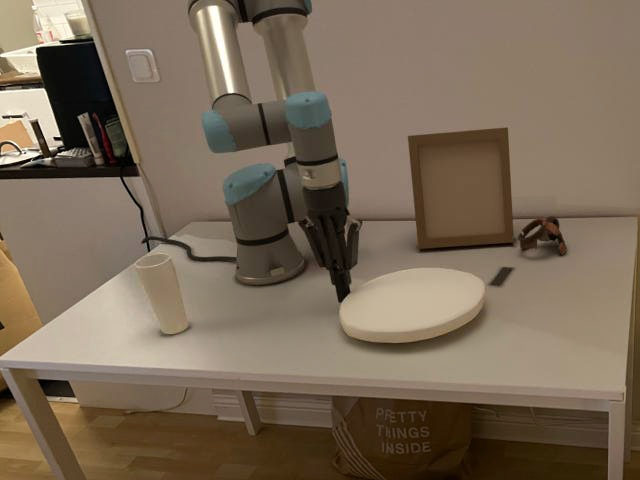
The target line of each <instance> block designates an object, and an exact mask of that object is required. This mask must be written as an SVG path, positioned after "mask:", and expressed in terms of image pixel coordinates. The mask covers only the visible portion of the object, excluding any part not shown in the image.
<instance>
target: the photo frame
mask: <svg viewBox="0 0 640 480" xmlns="http://www.w3.org/2000/svg"><path fill="white" fill-rule="evenodd" d="M509 138H510V137H509V127H508V126H507V127H495V128H484V129H483V128H482V129H472V130H471V129H470V130H460V131H447V132H436V133H435V132H434V133H424V134H412V135H411V134H410V135H407V143H408V153H409V164H410V176H411V185H412V186H411V187H412V193H413V194H412V196H413V205H414V216H415V226H416V238H417V247H418V248H417V249H418V250H420V249H421V250H422V249H423V250H424V249H434V248H437V249H438V248H449V247H450V248H451V247H465V246H479V245H493V244H495V245H496V244H507V243H515V235H514V217H513V215H514V214H513V197H512V178H511V160H510V159H511V158H510V157H511V156H510V139H509Z"/></svg>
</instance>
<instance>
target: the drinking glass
mask: <svg viewBox="0 0 640 480" xmlns="http://www.w3.org/2000/svg"><path fill="white" fill-rule="evenodd" d="M134 268H135V272H136V275H137V278H138V280H139V283H140V286H141V288H142V290H143V292H144V295H145V296H146V299H147V300H148V301H147V302H148V303H149V306H150V307H151V309H152V312H153V314H154V316H155V318H156V321H157V323H158V326H159V329H160V330H161V332H162V333H163V334H165V335H177V334H179V333H182V332H184V331H185V330H186V329H188V327H189V320H188V317H187V312H186V309H185V304H184V301H183V296H182V291H181V287H180V282H179V279H178V274H177V271H176V268H175V265H174V262H173V260H172V256H171V255H170V254H168V253H163V252H159V253H152V254H148V255H145V256H142V257H140V258H139V259H137V260H136V261H135V262H134Z"/></svg>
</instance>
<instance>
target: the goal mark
mask: <svg viewBox="0 0 640 480" xmlns="http://www.w3.org/2000/svg"><path fill="white" fill-rule="evenodd" d="M512 270H513V267H507V266H503V267H502V268H501V269H500V270H499V272H498V273H497V275H496V276H495V277H494V279H492V280H491V282H490V285H491V286H501V285H502V284H503V282H504V281H505V280H506V278H507V277H508V276H509V274H510V273H511V272H512Z"/></svg>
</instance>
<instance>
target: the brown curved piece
mask: <svg viewBox="0 0 640 480" xmlns="http://www.w3.org/2000/svg"><path fill="white" fill-rule="evenodd" d="M539 226H540V227H539ZM537 227H539V228H538V229H537V230H536V231H535V232H533V233H532V234H530V235H529V236H527V235H528V234H529V233H530V232H531V231H533V230H535V229H536V228H537ZM563 237H564V236H563V234H562V232H561V230H560V221H559V219H558V218H557V217H556V216H554V215H551V216H548V217H547V218H544V217H539V218H535V219H534V220H532V221H530V222H529V223H527V224H526V225H525V226H524V227H523V228H522V229H521V232H519V234H518V235H517V240H518V241H519V247H520V249H521V250H530V249H535V250H538V241H539V242H551V241H553V242H555V241H556V240H557V242H558V247H557V249H558V251H559V253H560V255H561V256H564V255H565V253H566V252H567V245H566V242H565V240H564V238H563Z"/></svg>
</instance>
